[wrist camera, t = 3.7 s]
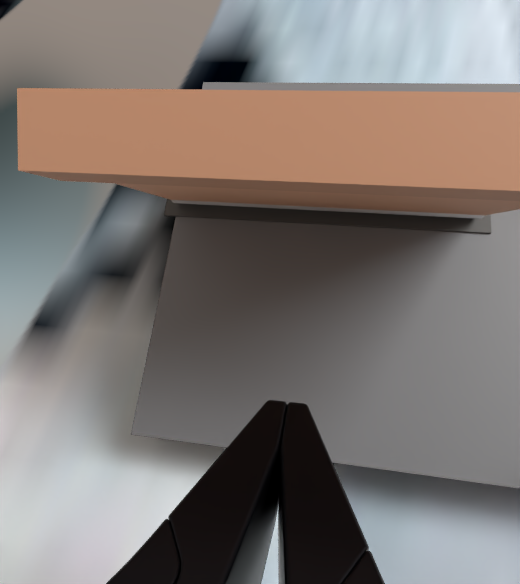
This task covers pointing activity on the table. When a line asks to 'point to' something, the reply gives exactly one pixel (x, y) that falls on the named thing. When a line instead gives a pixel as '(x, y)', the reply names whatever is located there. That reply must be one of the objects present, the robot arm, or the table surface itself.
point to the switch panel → (344, 328)
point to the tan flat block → (283, 147)
